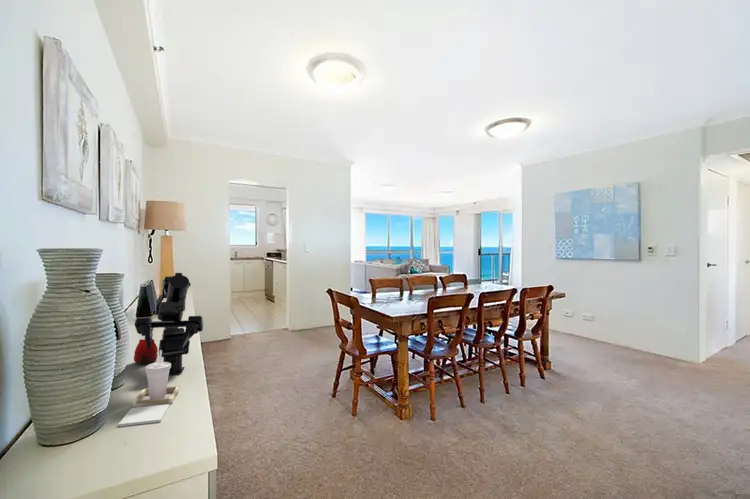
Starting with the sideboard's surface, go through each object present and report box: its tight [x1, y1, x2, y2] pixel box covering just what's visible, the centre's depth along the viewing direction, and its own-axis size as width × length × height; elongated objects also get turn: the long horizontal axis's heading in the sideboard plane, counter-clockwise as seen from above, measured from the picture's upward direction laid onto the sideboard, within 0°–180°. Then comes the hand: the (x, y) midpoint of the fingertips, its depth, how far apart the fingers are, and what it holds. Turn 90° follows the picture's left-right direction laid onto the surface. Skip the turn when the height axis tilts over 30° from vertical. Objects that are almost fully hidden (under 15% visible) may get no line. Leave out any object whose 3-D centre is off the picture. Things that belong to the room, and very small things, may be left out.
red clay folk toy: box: [133, 336, 159, 365], centre depth 131 cm, size 8×7×15 cm
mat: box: [117, 404, 171, 427], centre depth 89 cm, size 9×9×1 cm
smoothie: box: [144, 350, 171, 399], centre depth 100 cm, size 6×6×14 cm
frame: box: [131, 385, 181, 408], centre depth 100 cm, size 10×10×2 cm
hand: (165, 348), depth 106 cm, fingers open, 9 cm apart
